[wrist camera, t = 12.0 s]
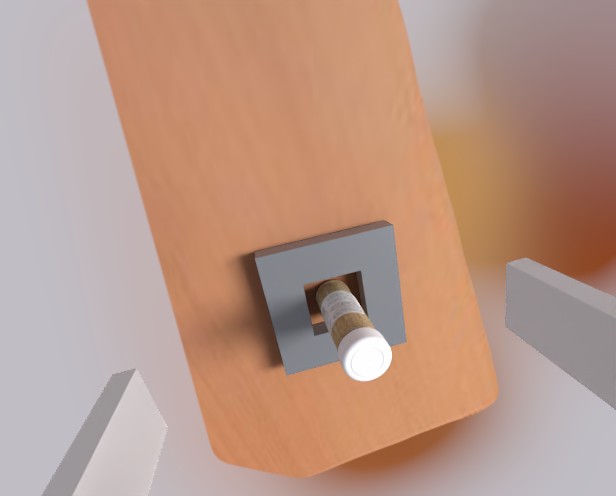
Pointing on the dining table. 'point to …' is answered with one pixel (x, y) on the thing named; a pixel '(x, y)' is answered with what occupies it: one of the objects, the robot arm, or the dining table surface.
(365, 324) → the sprinkles bottle
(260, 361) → the dining table surface
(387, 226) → the socket plate
